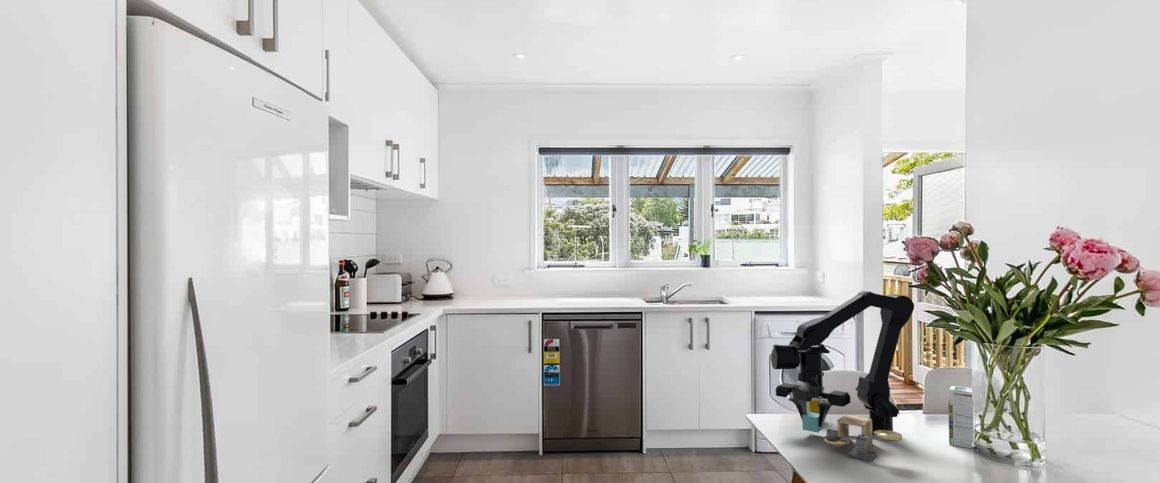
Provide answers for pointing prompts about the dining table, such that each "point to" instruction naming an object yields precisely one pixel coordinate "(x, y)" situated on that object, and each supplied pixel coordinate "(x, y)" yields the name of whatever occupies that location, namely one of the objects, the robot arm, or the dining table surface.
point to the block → (811, 422)
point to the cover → (856, 421)
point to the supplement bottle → (813, 405)
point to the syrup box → (960, 416)
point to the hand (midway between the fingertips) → (812, 425)
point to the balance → (860, 442)
